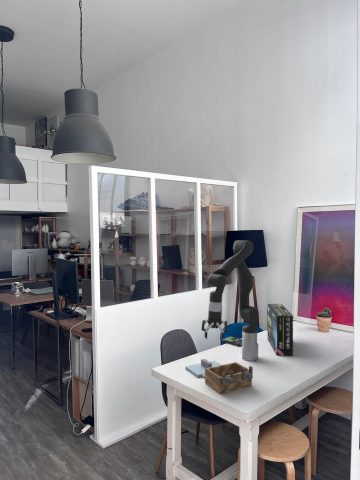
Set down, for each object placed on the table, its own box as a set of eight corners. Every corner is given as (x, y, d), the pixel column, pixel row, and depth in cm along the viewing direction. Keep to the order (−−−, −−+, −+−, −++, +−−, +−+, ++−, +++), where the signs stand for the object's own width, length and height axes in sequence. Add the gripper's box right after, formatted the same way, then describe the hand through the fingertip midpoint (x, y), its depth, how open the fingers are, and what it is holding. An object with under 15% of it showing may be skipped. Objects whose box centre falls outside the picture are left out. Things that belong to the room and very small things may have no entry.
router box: (266, 339, 268) (266, 303, 267) (281, 339, 267) (281, 303, 266) (276, 356, 232) (276, 315, 231) (293, 356, 232) (294, 315, 231)
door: (214, 363, 220) (214, 354, 220) (229, 372, 206) (229, 363, 206) (185, 369, 211) (185, 360, 211) (199, 379, 197) (199, 369, 197)
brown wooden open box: (235, 376, 201) (235, 356, 200) (254, 387, 186) (254, 366, 186) (205, 383, 191) (205, 362, 191) (222, 395, 177) (222, 373, 177)
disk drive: (247, 344, 258) (230, 339, 268) (247, 340, 258) (230, 335, 268) (238, 347, 250) (221, 342, 261) (238, 343, 250) (221, 338, 261)
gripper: (226, 309, 207) (225, 337, 207) (201, 308, 206) (200, 336, 206) (229, 311, 199) (227, 341, 199) (203, 310, 199) (201, 340, 199)
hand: (213, 338), depth 203 cm, fingers open, 8 cm apart
